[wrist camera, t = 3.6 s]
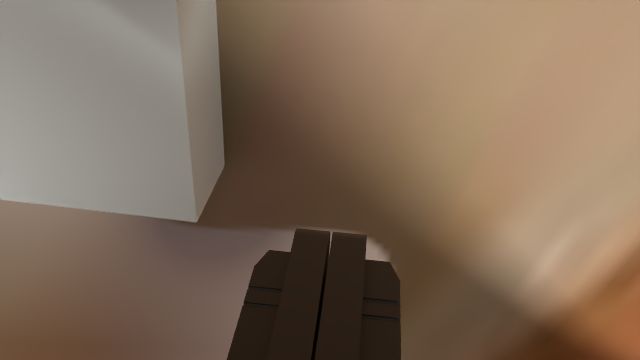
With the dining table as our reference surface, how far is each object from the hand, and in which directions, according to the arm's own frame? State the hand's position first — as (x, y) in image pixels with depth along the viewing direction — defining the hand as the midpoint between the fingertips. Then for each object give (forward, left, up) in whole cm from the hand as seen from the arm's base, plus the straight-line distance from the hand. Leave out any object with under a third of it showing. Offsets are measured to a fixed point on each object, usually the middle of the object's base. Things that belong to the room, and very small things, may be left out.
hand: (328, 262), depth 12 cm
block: (+9, 0, -10) cm, 13 cm away
